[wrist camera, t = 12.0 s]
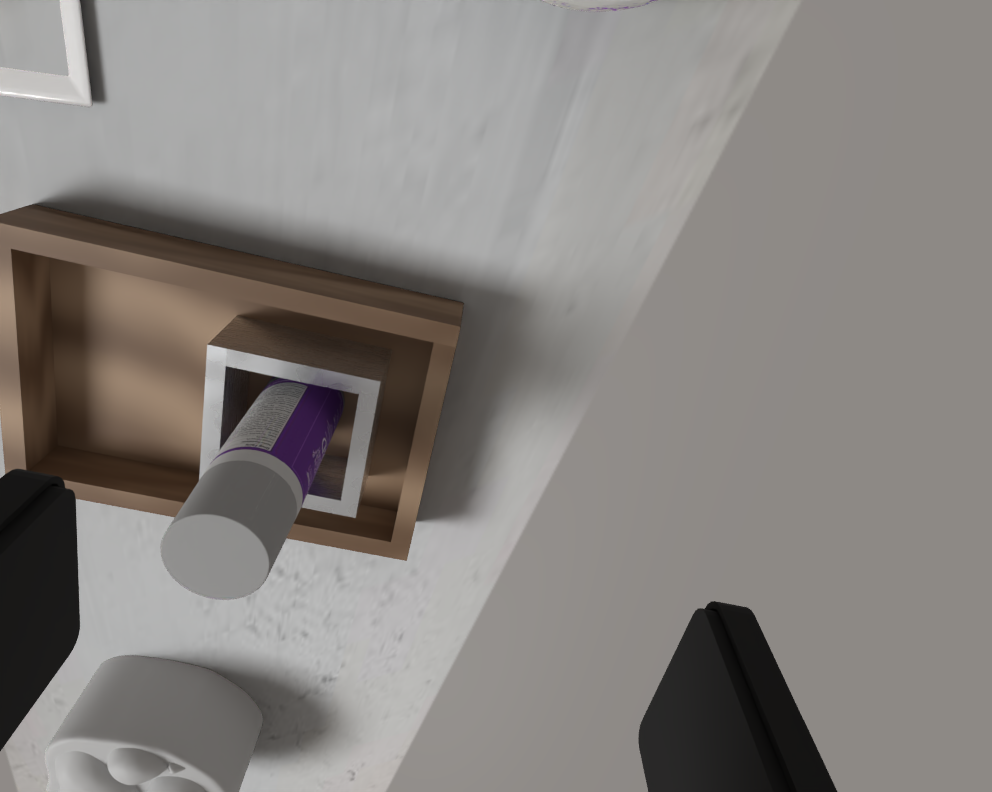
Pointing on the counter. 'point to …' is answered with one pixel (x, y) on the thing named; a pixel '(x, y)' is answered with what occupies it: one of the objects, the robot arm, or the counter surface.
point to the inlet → (305, 362)
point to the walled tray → (194, 365)
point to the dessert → (49, 85)
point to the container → (252, 491)
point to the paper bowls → (598, 4)
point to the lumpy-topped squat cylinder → (154, 731)
